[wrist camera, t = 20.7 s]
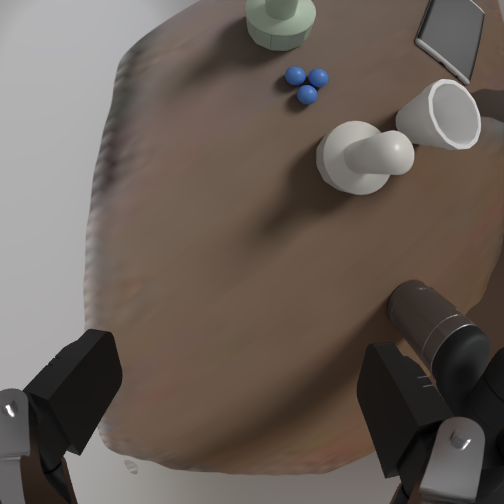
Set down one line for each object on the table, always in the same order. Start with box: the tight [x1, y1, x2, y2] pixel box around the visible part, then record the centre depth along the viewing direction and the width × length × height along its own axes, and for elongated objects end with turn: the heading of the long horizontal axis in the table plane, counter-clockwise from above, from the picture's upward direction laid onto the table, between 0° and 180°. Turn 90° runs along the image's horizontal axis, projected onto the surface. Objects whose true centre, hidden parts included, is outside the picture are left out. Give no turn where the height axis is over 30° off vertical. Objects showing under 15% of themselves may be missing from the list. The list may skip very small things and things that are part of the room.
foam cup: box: [396, 79, 481, 150], centre depth 32 cm, size 10×9×13 cm
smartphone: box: [415, 0, 485, 85], centre depth 31 cm, size 13×27×2 cm, turn 153°
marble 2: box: [297, 85, 317, 104], centre depth 37 cm, size 3×3×3 cm
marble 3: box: [308, 69, 329, 87], centre depth 36 cm, size 3×3×3 cm
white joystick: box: [316, 121, 414, 195], centre depth 32 cm, size 10×10×17 cm
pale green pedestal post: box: [245, 0, 316, 51], centre depth 27 cm, size 10×10×17 cm
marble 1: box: [285, 67, 305, 85], centre depth 36 cm, size 3×3×3 cm
